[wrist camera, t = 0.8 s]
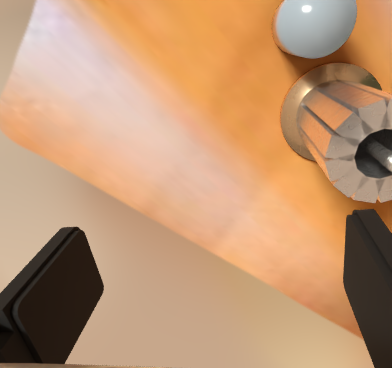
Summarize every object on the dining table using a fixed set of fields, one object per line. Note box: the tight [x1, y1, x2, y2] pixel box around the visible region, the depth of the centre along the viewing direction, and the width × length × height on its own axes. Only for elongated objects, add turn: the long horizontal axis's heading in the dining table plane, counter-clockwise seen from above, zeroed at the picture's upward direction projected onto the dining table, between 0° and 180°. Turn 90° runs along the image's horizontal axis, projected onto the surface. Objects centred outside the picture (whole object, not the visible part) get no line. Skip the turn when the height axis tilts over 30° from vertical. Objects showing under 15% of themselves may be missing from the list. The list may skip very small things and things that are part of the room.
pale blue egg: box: [271, 0, 357, 58], centre depth 34 cm, size 7×7×9 cm
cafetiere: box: [280, 63, 392, 203], centre depth 34 cm, size 14×13×17 cm
